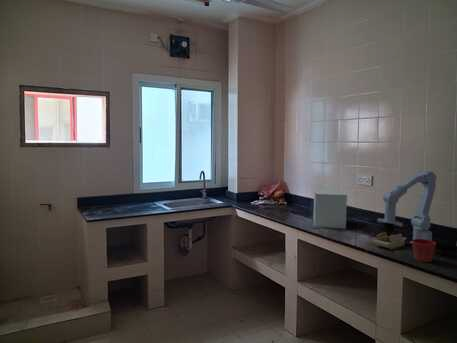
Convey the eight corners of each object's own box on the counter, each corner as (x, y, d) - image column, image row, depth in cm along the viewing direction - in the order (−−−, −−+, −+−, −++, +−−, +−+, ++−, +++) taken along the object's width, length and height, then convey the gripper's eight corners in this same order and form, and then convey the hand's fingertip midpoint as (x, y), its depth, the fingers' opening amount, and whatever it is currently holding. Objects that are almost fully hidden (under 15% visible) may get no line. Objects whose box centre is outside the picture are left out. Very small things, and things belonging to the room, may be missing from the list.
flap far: (390, 231, 208) (389, 230, 208) (378, 234, 201) (378, 233, 201) (386, 235, 210) (386, 235, 210) (375, 239, 203) (375, 238, 203)
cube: (313, 219, 270) (314, 189, 268) (341, 221, 265) (342, 190, 263) (314, 227, 245) (315, 193, 243) (345, 229, 241) (347, 195, 239)
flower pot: (409, 255, 184) (409, 237, 183) (431, 257, 181) (432, 239, 180) (413, 261, 174) (414, 243, 173) (437, 264, 171) (438, 245, 170)
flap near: (403, 239, 202) (403, 239, 201) (392, 243, 195) (392, 243, 194) (400, 233, 203) (400, 233, 203) (389, 236, 196) (389, 236, 196)
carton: (407, 244, 204) (408, 238, 204) (387, 250, 192) (388, 244, 191) (390, 239, 213) (390, 234, 213) (370, 245, 201) (370, 240, 200)
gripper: (374, 212, 205) (374, 234, 206) (398, 216, 193) (397, 239, 194) (381, 210, 209) (380, 232, 210) (405, 214, 197) (403, 237, 198)
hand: (389, 235), depth 202 cm, fingers closed
